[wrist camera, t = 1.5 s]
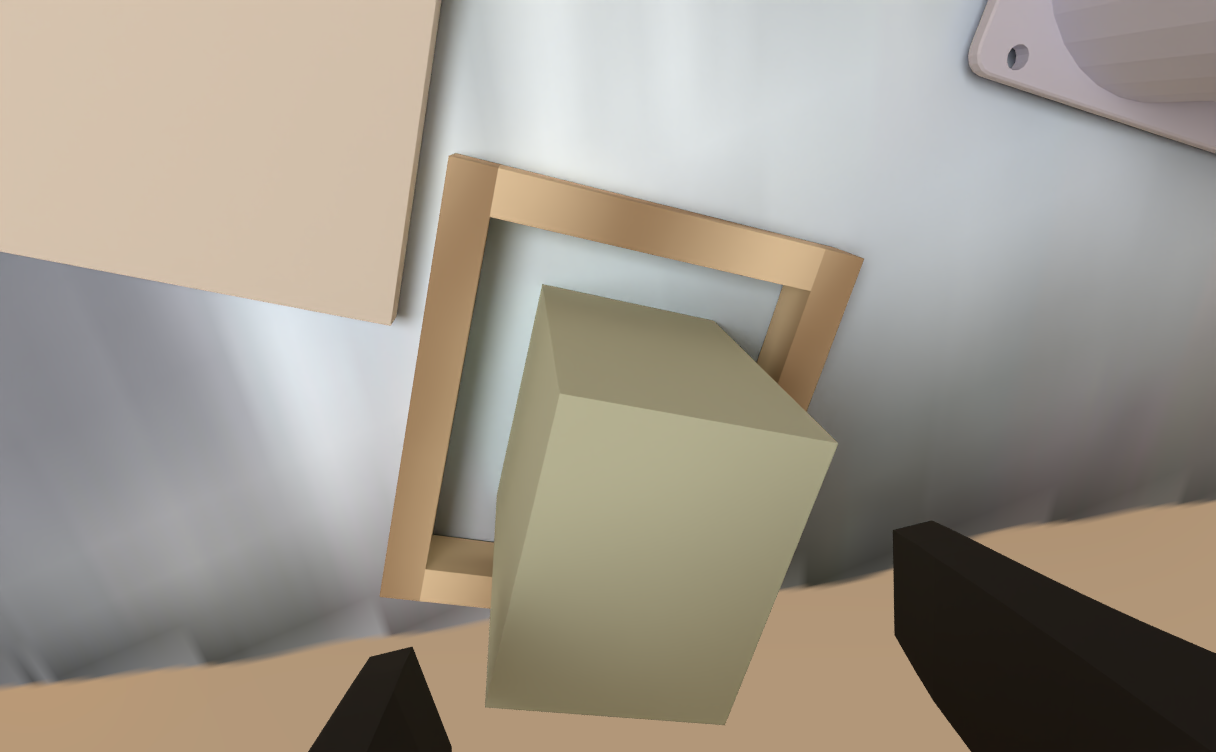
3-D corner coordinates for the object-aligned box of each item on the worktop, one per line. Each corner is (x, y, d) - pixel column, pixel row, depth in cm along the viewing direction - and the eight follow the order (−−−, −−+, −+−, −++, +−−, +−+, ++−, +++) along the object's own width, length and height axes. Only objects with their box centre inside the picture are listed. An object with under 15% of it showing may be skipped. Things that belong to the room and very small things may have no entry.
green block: (713, 320, 17) (837, 443, 10) (652, 516, 19) (724, 724, 12) (542, 283, 16) (559, 393, 9) (496, 494, 18) (485, 707, 11)
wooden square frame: (834, 247, 16) (863, 258, 15) (708, 597, 20) (722, 633, 18) (455, 153, 14) (448, 155, 13) (390, 560, 18) (379, 597, 16)
